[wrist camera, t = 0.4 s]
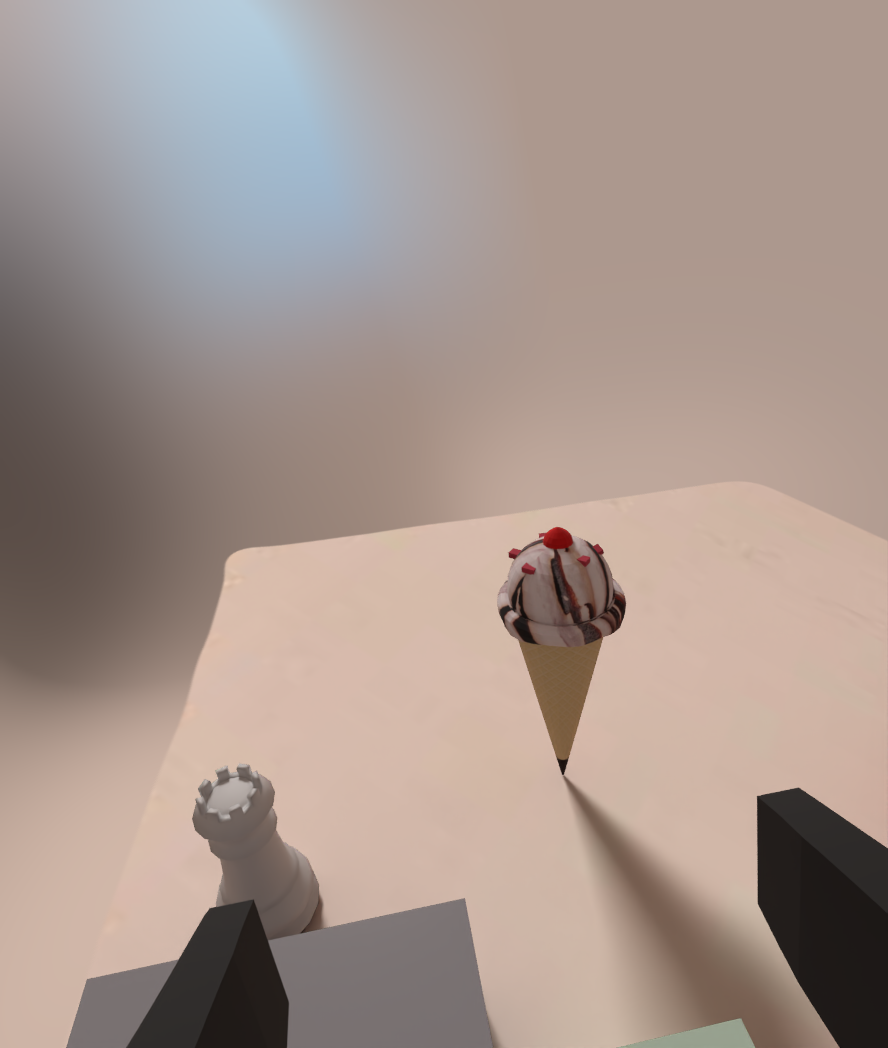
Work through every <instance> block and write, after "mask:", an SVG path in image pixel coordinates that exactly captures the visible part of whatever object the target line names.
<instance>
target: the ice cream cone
mask: <svg viewBox="0 0 888 1048" xmlns="http://www.w3.org/2000/svg"><path fill="white" fill-rule="evenodd" d="M603 553H604V552H603V549H602V548H601V547H600V546H599V545H598V544H596V545H595V546H592V545H591V544H590V543H589V542H587V541H585V540H583V539H581V538H578V537H575V536H572V535H571V534H570V533H569V532H568V531H567V530H565V529H563V528H561V527H555V528H553V529H551V530H549V531H548V532H547V533H541V534H539V538H538V539H537V540H535V541H533V542H531V543H529V544H528V545H527V546H525V547H524V548H523V549H522V551H521V550H518V549H514V548H513V549H512V550H511V551H510V552H509V558H513V559H515V560H514V561H513V563H512V565H511V568H510V571H509V574H508V580H507V581H506V582H505V583H504V584H503V586H502V587H501V589H500V591H499V594H498V601H497V604H498V610H499V614H500V616H501V618H502V620H503V623H504V625H505V627H506V629H507V630H508V632H509V633H510V635H511V636H513V637H515V638H516V639H518V640H519V643H520V647H521V650H522V653H523V656H524V659H525V662H526V665H527V668H528V671H529V674H530V677H531V680H532V683H533V686H534V690H535V693H536V696H537V699H538V702H539V705H540V708H541V711H542V714H543V717H544V720H545V723H546V726H547V729H548V733H549V736H550V739H551V742H552V745H553V748H554V751H555V754H556V757H557V760H558V763H559V766H560V769H561V772H562V775H564V772H565V769H566V765H567V762H568V758H569V755H570V751H571V748H572V744H573V741H574V738H575V734H576V731H577V727H578V724H579V720H580V717H581V713H582V710H583V706H584V703H585V699H586V696H587V692H588V689H589V685H590V682H591V678H592V675H593V671H594V668H595V664H596V661H597V657H598V654H599V650H600V647H601V643H602V640H603V637H605V636H608V635H611V634H612V633H614V632H615V631H616V630H617V629H619V628H620V626H621V623H622V621H623V618H624V614H625V608H626V601H625V596H624V593H623V591H622V589H621V587H620V585H619V584H618V583H617V582H616V581H615V580H614V579H613V578H612V574H611V571H610V568H609V566H608V564H607V562H606V560H605V559H604V557H603V556H602V554H603Z"/></svg>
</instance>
